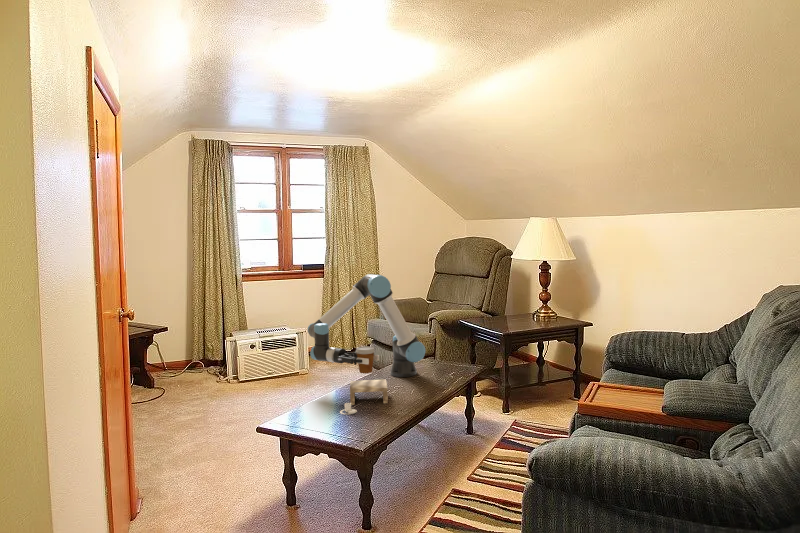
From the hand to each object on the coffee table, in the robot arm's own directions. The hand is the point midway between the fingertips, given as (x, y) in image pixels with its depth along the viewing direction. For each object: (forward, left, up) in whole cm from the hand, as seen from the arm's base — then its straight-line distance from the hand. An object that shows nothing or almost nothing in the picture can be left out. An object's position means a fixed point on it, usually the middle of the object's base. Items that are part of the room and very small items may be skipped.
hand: (373, 359), depth 277 cm
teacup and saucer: (+14, +19, -21) cm, 32 cm away
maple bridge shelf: (+3, -1, -20) cm, 20 cm away
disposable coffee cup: (+4, -3, -7) cm, 8 cm away
